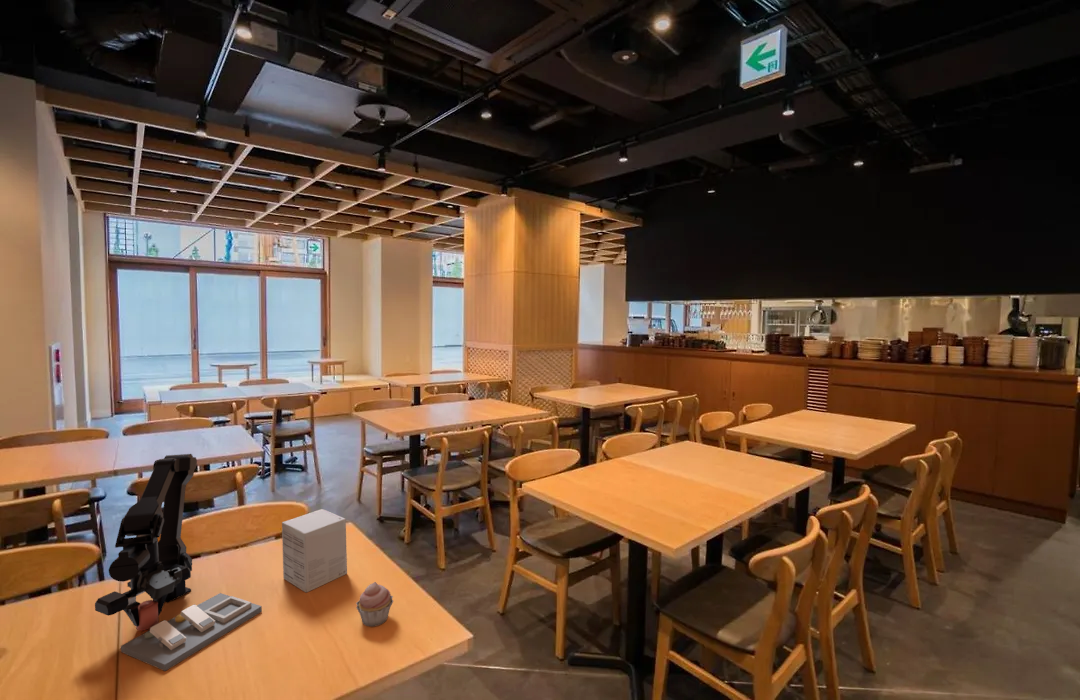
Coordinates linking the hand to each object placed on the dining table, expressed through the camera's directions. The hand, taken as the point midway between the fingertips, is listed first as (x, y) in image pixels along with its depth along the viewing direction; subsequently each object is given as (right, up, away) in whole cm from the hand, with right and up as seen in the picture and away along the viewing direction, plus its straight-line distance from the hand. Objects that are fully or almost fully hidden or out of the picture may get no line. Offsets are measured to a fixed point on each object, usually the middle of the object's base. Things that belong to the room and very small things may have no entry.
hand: (147, 620), depth 125 cm
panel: (+13, -2, -1) cm, 13 cm away
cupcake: (+56, -2, +5) cm, 56 cm away
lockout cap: (0, -1, 0) cm, 1 cm away
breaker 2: (+14, +1, -1) cm, 14 cm away
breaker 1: (+11, +1, -8) cm, 13 cm away
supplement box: (+31, -1, +25) cm, 40 cm away
